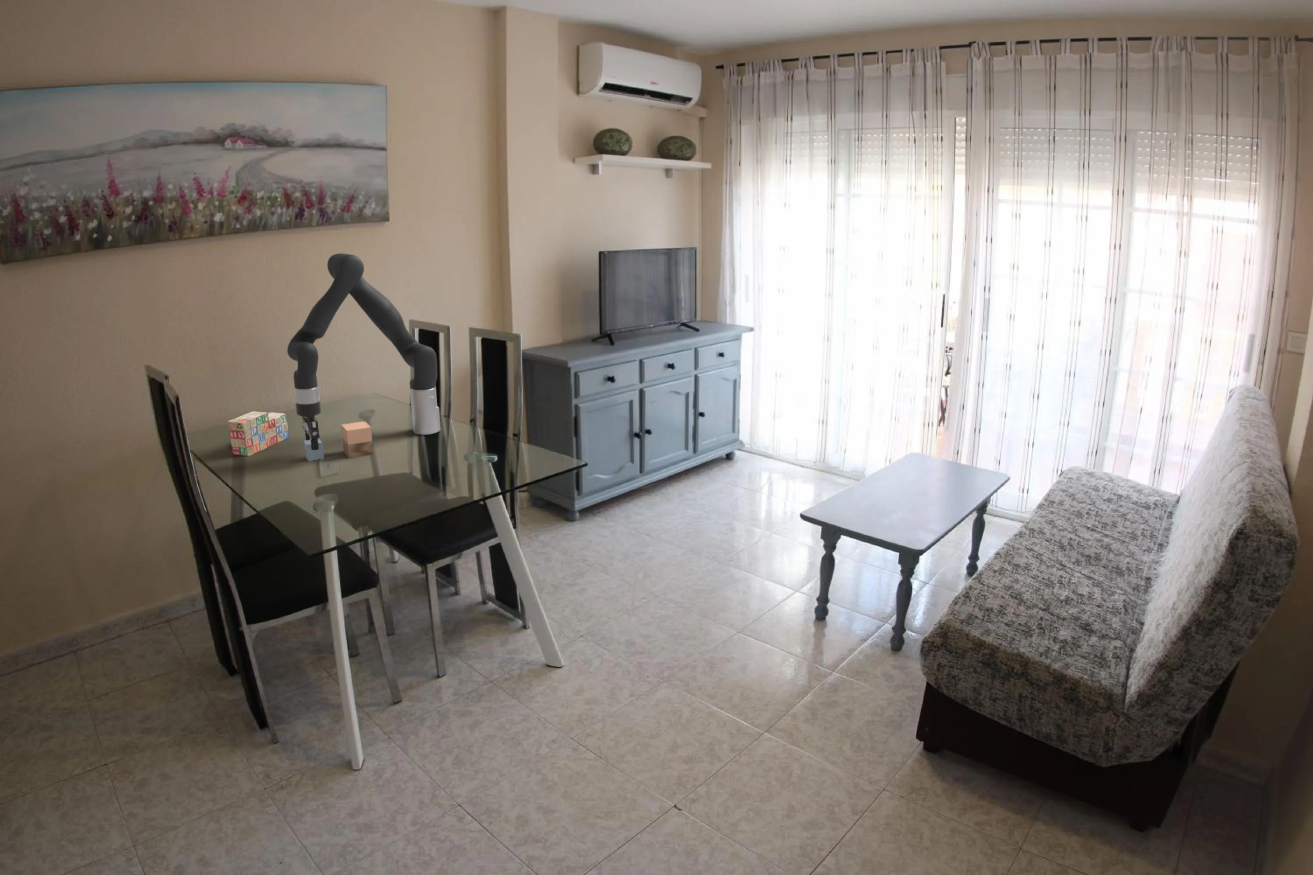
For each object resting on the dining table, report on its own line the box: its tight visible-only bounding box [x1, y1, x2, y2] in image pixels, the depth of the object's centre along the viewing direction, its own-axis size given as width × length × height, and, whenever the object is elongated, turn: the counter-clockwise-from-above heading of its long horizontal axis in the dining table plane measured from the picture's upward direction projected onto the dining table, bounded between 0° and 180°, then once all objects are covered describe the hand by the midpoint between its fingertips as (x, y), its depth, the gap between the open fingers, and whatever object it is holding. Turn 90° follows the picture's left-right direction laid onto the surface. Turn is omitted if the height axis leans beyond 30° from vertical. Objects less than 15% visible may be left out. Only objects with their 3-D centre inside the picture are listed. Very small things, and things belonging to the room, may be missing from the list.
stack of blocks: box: [227, 411, 290, 457], centre depth 283 cm, size 21×6×12 cm, turn 166°
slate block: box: [303, 438, 325, 462], centre depth 274 cm, size 5×5×6 cm
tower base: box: [341, 437, 374, 459], centre depth 280 cm, size 8×8×5 cm
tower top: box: [340, 420, 373, 445], centre depth 278 cm, size 8×8×5 cm
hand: (312, 446), depth 273 cm, fingers open, 8 cm apart
